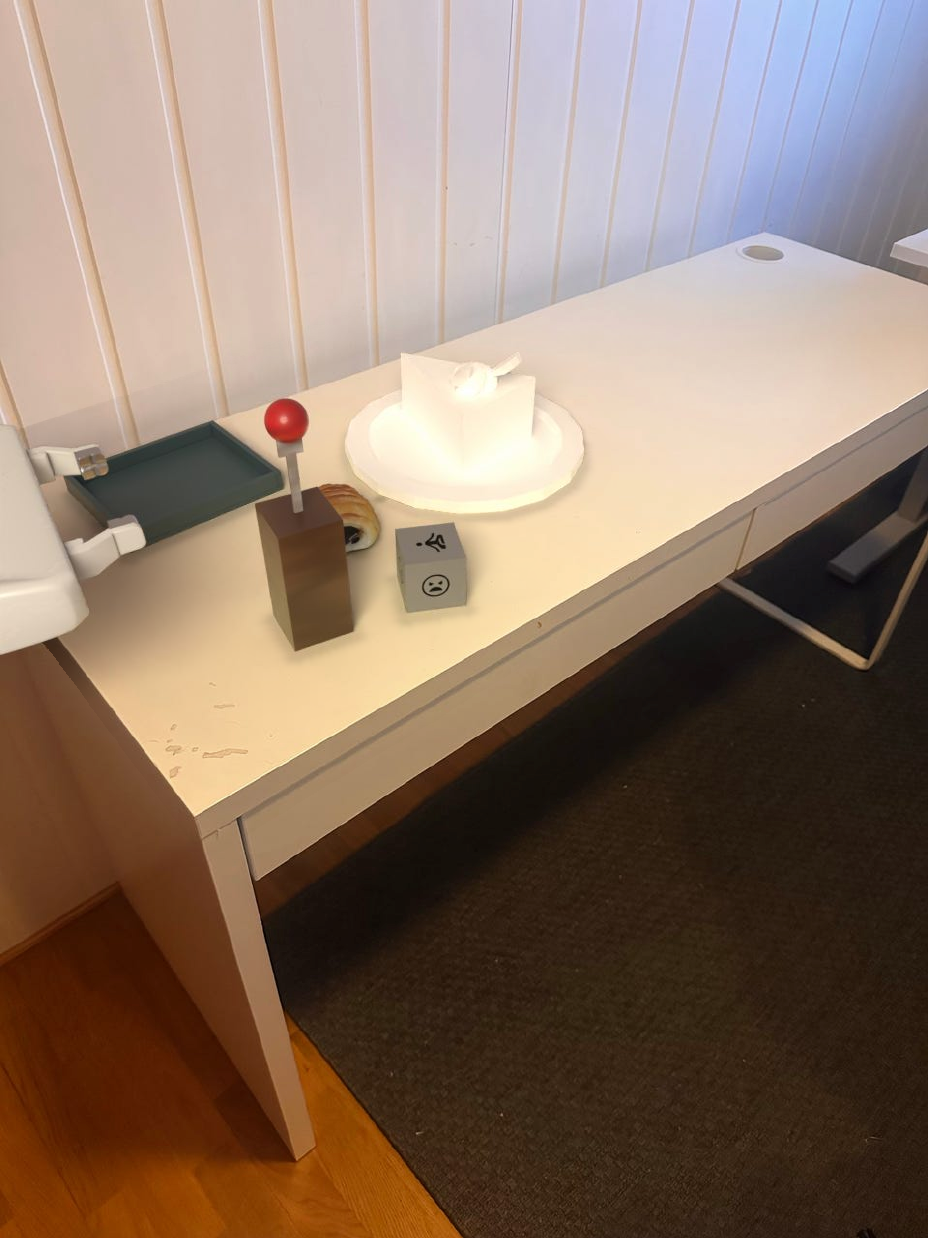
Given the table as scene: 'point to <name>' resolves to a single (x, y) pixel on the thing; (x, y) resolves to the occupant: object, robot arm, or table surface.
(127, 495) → the teal serving tray
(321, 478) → the table surface
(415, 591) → the dice cube
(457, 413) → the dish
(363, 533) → the pastry
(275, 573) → the red ball lever
